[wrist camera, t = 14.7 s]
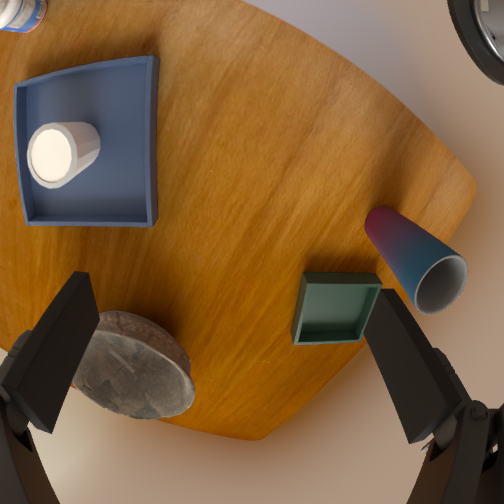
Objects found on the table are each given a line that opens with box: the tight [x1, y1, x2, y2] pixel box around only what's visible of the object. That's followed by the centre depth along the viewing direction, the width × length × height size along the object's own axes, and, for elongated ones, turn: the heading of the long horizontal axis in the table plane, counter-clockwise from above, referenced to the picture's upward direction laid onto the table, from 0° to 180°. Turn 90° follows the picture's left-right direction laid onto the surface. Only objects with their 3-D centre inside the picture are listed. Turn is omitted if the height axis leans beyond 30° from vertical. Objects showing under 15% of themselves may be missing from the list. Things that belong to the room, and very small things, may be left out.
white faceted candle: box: [27, 122, 101, 189], centre depth 26 cm, size 7×7×7 cm
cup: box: [365, 206, 468, 315], centre depth 30 cm, size 7×7×15 cm
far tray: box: [291, 272, 383, 345], centre depth 41 cm, size 11×11×3 cm
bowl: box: [72, 310, 195, 419], centre depth 39 cm, size 21×21×10 cm
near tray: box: [14, 55, 160, 227], centre depth 28 cm, size 19×19×3 cm
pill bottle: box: [0, 0, 47, 33], centre depth 15 cm, size 6×5×10 cm
